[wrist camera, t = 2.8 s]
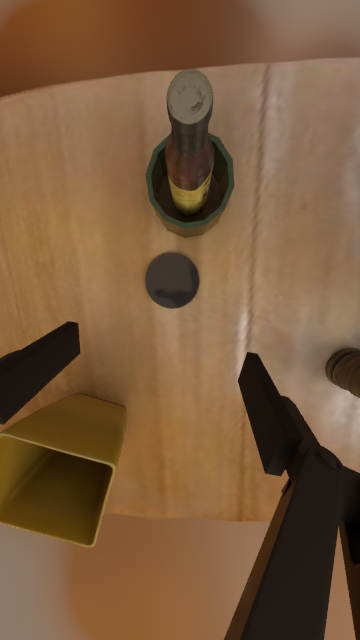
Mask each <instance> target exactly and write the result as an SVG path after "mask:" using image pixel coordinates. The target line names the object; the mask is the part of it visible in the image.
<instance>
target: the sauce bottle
mask: <svg viewBox="0 0 360 640" xmlns="http://www.w3.org/2000/svg"><path fill="white" fill-rule="evenodd" d="M212 105H213V90H212V87H211V84H210V82H209V80H208V79H207V77H206V76H205V75H203V74H202V73H201V72H199V71H197V70H194V69H188V70H184V71H182V72H180V73H179V74H178V75H176V76H175V78H174V79H173V80H172V81H171V84H170V86H169V88H168V92H167V109H168V115H169V119H170V122H171V125H172V133H171V134H170V136H169V139H168V142H167V145H166V152H165V156H166V164H167V173H168V178H169V183H170V189H171V194H172V199H173V203H174V205H175V207H176V209H177V210H178V212H179V213H180V214H181V215H184V216H187V217H192V216H195V215H197V214H198V213H199V212H200V211H202V209H203V207H204V205H205V203H206V200H207V195H208V190H209V186H210V181H211V175H212V170H213V165H214V158H215V154H214V148H213V145H212V143H211V140H210V137H209V134H208V124H209V120H210V118H211V114H212Z"/></svg>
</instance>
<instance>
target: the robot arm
mask: <svg viewBox="0 0 360 640" xmlns="http://www.w3.org/2000/svg"><path fill="white" fill-rule="evenodd" d="M79 354H80V342H79V328H78V323H75V322H69V321H68V322H67V323H65V324H63V325H62V326H60V327H58V328H57V329H55V330H53V331H52V332H50V333H48V334H47V335H45V336H43V337H42V338H40V339H38V340H37V341H35V342H33V343H32V344H30V345H28V346H27V347H25V348H23V349H22V350H17V351H15V352H12V353H9V354H7V355H5V356H3V357H2V358H0V424H3V425H4V424H5V423H6V422H7V421H8V420H9V419H10V418H11V417H12V416H13V415H15V414H16V413H17V412H18V411H19V410H20V409H21V408H22V407H23V406H24V405H25V404H26V403H27V402H28V401H30V400H31V399H32V398H33V397H34V396H35V395H36V394H37V393H38V392H39V391H40V390H41V389H42V388H43V387H45V386H46V385H47V384H48V383H49V382H50V381H51V380H52V379H53V378H54V377H55V376H56V375H57V374H59V373H60V372H61V371H62V370H63V369H64V368H65V367H66V366H67V365H68V364H69V363H70V362H71V361H72V360H74V359H75V358H76V357H77V356H78V355H79ZM238 383H239V387H240V390H241V393H242V397H243V400H244V404H245V407H246V410H247V414H248V417H249V420H250V424H251V427H252V431H253V434H254V437H255V441H256V444H257V448H258V451H259V454H260V458H261V461H262V464H263V468H264V471H265V473H266V474H271V475H276V476H281V475H282V474H283V472H284V470H285V469H286V471H287V474H288V476H289V479H288V481H287V483H286V484H285V486H284V487H283V489H282V491H281V492H283V493H282V496H281V498H280V501H279V503H278V506H277V508H276V511H275V513H274V516H273V518H272V521H271V523H270V526H269V528H268V531H267V533H266V536H265V538H264V541H263V543H262V546H261V548H260V551H259V553H258V556H257V559H256V561H255V563H254V566H253V568H252V571H251V573H250V576H249V578H248V581H247V583H246V586H245V589H244V591H243V594H242V596H241V598H240V601H239V603H238V606H237V609H236V611H235V613H234V616H233V618H232V621H231V623H230V626H229V628H228V631H227V633H226V636H225V638H224V640H324V634H325V626H326V618H327V611H328V603H329V594H330V587H331V579H332V571H333V564H334V555H335V548H336V540H337V533H338V532H337V531H338V525H339V531H340V537H341V544H342V551H343V557H344V564H345V570H346V576H347V584H348V590H349V597H350V604H351V610H352V616H353V624H354V630H355V637H356V640H360V473H358V472H356V471H354V470H351V469H349V468H347V467H345V466H343V465H342V463H341V461H340V460H339V459H338V458H337V457H336V456H335V455H334V454H333V453H332V452H330V451H329V450H328V449H326V448H324V447H322V446H320V444H319V442H318V441H317V439H316V437H315V436H314V434H313V433H312V431H311V429H310V428H309V426H308V424H307V423H306V421H305V420H304V418H303V416H302V415H301V414H300V411H299V410H298V408H297V406H296V405H295V404H294V403H293V402H292V401H291V400H290V399H289V398H288V397H285V396H280V394H279V392H278V390H277V388H276V387H275V385H274V383H273V381H272V379H271V377H270V376H269V374H268V372H267V370H266V368H265V367H264V365H263V363H262V361H261V359H260V357H259V356H258V354H256V353H250V352H247V355H246V358H245V361H244V364H243V367H242V370H241V373H240V376H239V379H238Z"/></svg>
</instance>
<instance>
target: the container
mask: <svg viewBox="0 0 360 640" xmlns="http://www.w3.org/2000/svg"><path fill="white" fill-rule="evenodd" d="M326 375H327V377H328V379H329V380H330V381H331V382H332V383H333V384H335V385H337V386H339V387H340V388H342V389H344V390H348V391H349V392H351V393H352V394H353V395H355V396H357V397H359V398H360V350H358V349H345V350H342V351H339V352H337V353H336V354H334V355H333V356H332V357H331V358H330V360H329V361H328V363H327V366H326Z"/></svg>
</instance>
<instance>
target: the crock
mask: <svg viewBox="0 0 360 640" xmlns="http://www.w3.org/2000/svg"><path fill="white" fill-rule="evenodd" d="M208 134H209V137H210V140H211V143H212V145H213V148H214V154H215V158H214V165H213V170H212V174H213V175H214V177H215V179H216V180H217V182H218V183H219V185H220V196H221V205H220V207H219V208H218V209H217V210H215V211H214V212H213V213H212V214H211V215H209V216H208V217H207V218H206V219H205V220H200V221H194V222H188V223H183V222H181V221H179V220H176V219H174V218H172V217H170V216H167V215H166V214H165V212H164V211H163V210H162V208H161V207H160V205H159V199H158V194H159V191H160V188H161V185H162V182H163V179H164V177H165V176H166V175H167V174H168V173H167V164H166V156H165V152H166V145H167V142H168V139H169V136H170V135H169V136H167V137H166V138H165V139H164V140H163V141H162V142H161V143H160V144H159V145H158V146H157V147H156V148H155V149H154V150H153V154H152V157H151V160H150V163H149V166H148V169H147V172H146V181H147V187H148V194H149V200H150V202H151V204H152V206H153V208H154V210H155V213H156V215H157V216H158V218H159V219H160V220H161V222H162V223H163V224H164V226H165V227H166V229H167V230H168V231H170V232H173V233H175V234H177V235H179V236H182V237H184V238H186V237H193V236H199V235H203V234H204V233H206V232H207V231H208V230H209V229H210V228H212V227H213V226H214V225H215V224H217V223H218V221H219V219H220V217H221V215H222V213H223V211H224V209H225V207H226V205H227V202H228V200H229V198H230V195H231V193H232V190H233V188H234V175H233V160H232V158H231V156H230V155H229V153H228V152H227V150H226V148H225V147H224V145H223V144H222V142H221V140H220V139H219V138H218V137H216V136H214V135H212V134H210V133H208Z"/></svg>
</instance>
